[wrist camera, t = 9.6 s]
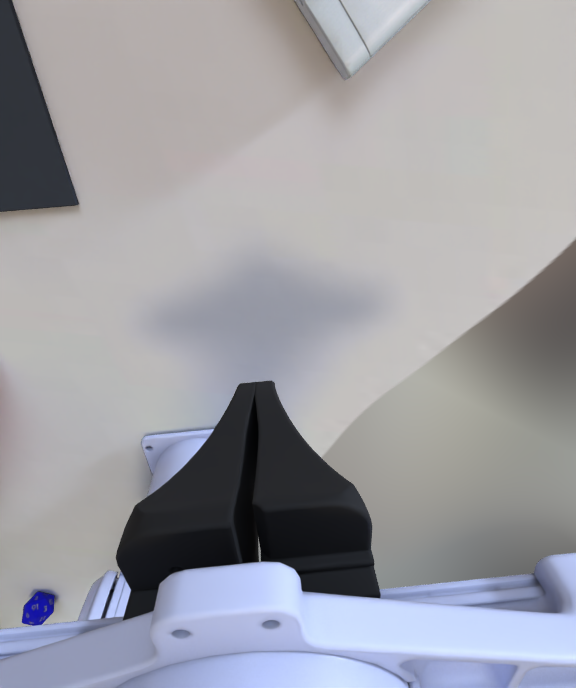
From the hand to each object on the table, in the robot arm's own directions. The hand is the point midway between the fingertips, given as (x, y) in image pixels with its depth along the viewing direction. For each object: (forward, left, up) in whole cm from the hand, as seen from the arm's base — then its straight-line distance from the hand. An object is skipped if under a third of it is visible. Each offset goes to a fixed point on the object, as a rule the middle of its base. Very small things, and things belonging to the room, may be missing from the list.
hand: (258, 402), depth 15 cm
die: (-30, +25, -11) cm, 41 cm away
